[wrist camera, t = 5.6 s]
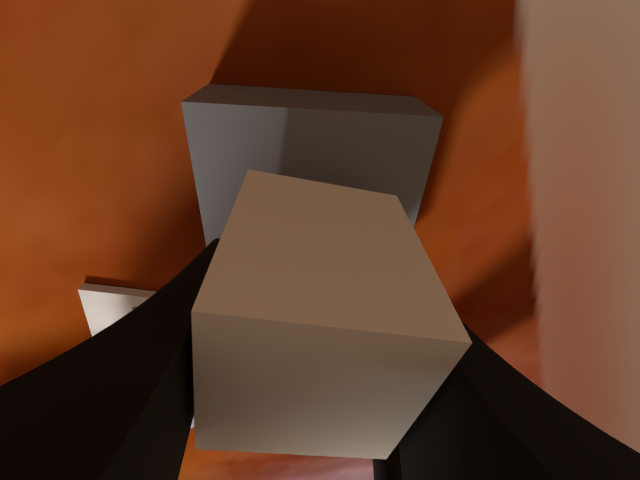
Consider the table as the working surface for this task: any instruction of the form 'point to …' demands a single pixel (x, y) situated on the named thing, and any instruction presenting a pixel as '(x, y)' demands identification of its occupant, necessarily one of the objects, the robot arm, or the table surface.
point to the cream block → (318, 324)
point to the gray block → (306, 143)
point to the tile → (109, 303)
